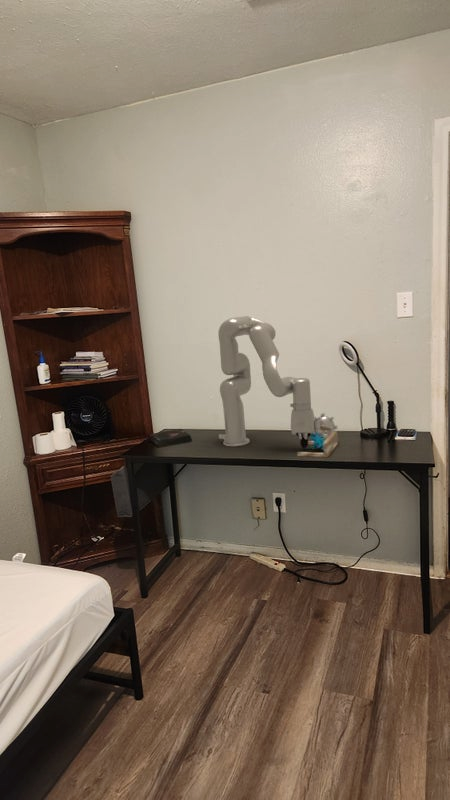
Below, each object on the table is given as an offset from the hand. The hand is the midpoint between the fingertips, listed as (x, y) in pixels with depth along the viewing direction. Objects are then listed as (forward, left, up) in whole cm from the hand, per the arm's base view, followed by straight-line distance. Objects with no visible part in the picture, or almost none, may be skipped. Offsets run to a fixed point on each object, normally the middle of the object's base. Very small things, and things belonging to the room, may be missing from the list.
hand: (304, 447), depth 227 cm
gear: (+6, +12, -1) cm, 14 cm away
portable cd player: (-71, +6, -2) cm, 71 cm away
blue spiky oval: (+7, +1, -1) cm, 7 cm away
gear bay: (+6, 0, -1) cm, 6 cm away
